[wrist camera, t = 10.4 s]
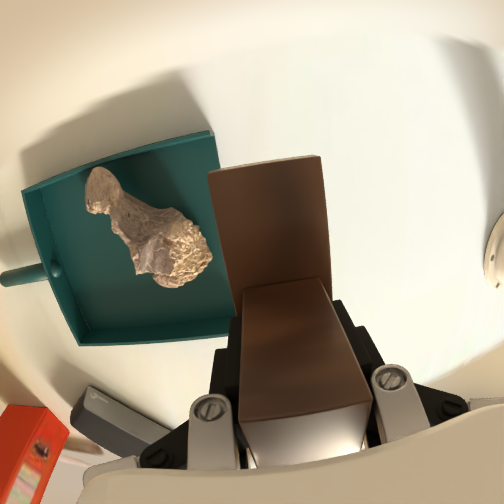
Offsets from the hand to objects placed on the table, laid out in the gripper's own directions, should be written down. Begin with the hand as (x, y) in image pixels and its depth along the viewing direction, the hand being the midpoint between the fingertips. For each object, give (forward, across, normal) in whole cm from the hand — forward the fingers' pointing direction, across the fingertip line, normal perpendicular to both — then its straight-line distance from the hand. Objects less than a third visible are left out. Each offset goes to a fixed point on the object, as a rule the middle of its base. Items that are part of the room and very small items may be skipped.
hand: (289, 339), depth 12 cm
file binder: (+16, +54, +32) cm, 65 cm away
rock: (+16, +11, -3) cm, 20 cm away
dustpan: (+16, +19, 0) cm, 25 cm away
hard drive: (+16, +27, +30) cm, 44 cm away
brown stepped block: (+3, 0, 0) cm, 3 cm away
